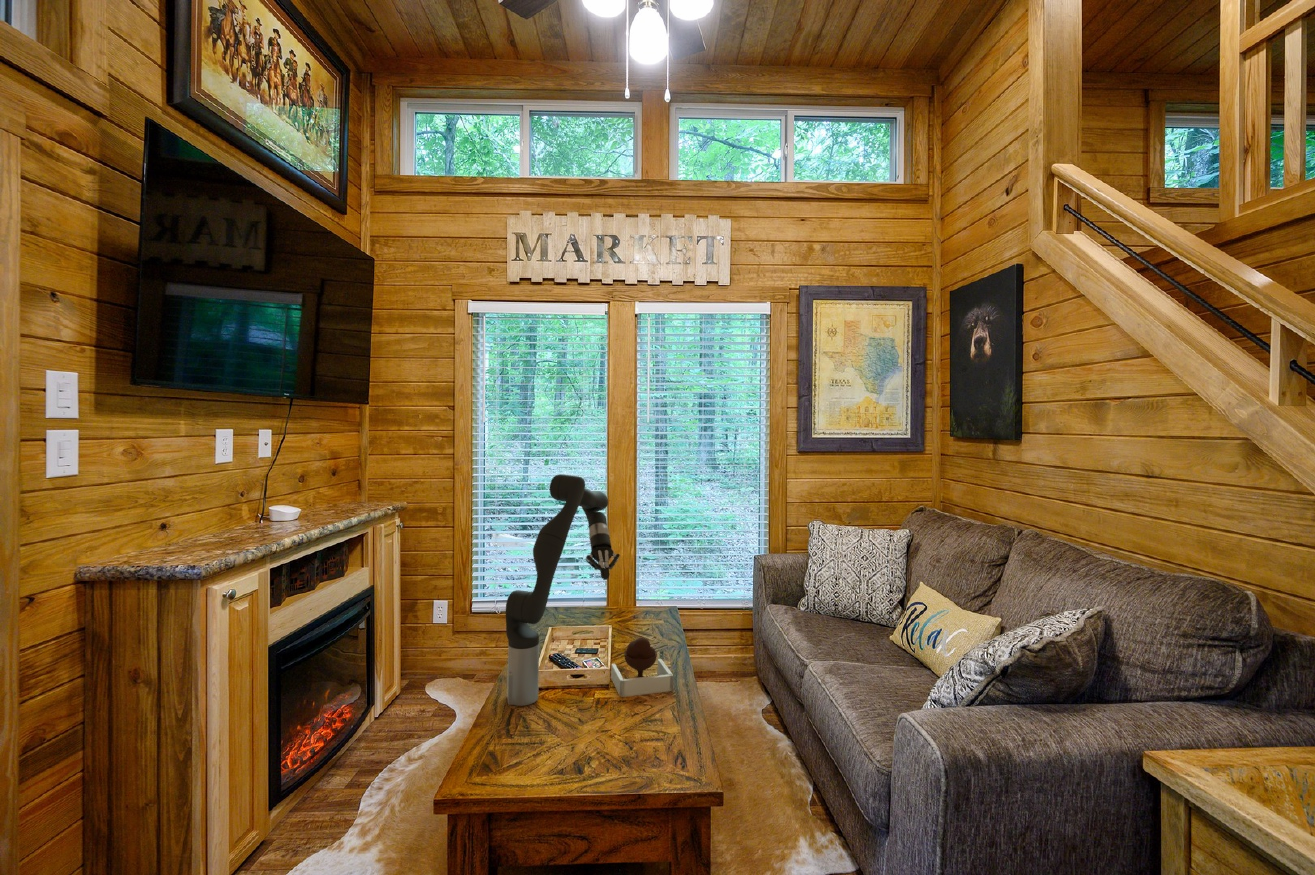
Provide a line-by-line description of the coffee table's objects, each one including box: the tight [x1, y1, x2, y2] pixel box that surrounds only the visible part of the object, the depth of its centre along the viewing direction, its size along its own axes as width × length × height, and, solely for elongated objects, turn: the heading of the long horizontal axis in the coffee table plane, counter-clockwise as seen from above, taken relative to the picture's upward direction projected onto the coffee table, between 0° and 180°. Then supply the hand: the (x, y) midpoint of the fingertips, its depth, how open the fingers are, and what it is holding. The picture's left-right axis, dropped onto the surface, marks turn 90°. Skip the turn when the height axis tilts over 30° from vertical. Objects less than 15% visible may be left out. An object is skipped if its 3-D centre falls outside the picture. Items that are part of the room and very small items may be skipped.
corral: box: [610, 658, 675, 698], centre depth 192 cm, size 17×14×5 cm
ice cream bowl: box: [624, 636, 658, 678], centre depth 194 cm, size 11×11×15 cm
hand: (605, 578), depth 209 cm, fingers closed
